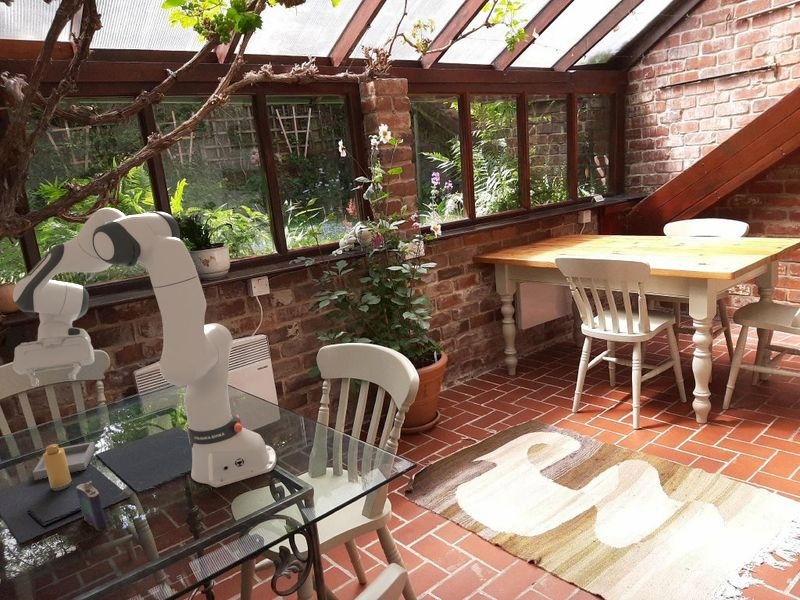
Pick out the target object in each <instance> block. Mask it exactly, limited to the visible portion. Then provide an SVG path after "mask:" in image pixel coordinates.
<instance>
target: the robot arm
mask: <svg viewBox="0 0 800 600" xmlns="http://www.w3.org/2000/svg"><path fill="white" fill-rule="evenodd" d="M137 263H139V264H141V265H143V266H144V268H146V270H147V273H148V274H149V279H150V283H151V285H152V289H153V292H154V295H155V298H156V302H157V305H158V309H159V311H160V316H161V323H162V331H163V332H162V333H163V335H162V336H163V342H162V343H163V347H162V353H161V357H160V359H159V372H160V374H161V376H162V377H163V379H164V380H165V381H166V382H167V383H169V384H170V385H173V386H175V387H184V386H185V387H186V390H185V393H184V397H183V404H184V408H185V413H186V414H185V415H186V419H187V438H188V442H189V445H190V447H191V456H192V457H191V458H192V461H191V463H192V466H191V473H190V476H191V479H192V480H193V481H195V482H197V483H200V484H206V485H209V486H211V487H214V488H219V487H223V486H225V485H230V484H232V483H236V482H239V481H242V480H243V481H244V480H246V479H250V478H253V477H256V476H259V475H262V474H265V473H270V472H271V471H273V469H274V468H275V466H276V465H277V454H276V451H275V450H274V448H273V447H271V446H270V445H267V444H266V443H265V440H264V439H263V437H262V436H261V434H259V433H257V432H255V431H252V430H249V429H248V428H245V427H243V424H242V422H241V418H240V416H239V414H237V415H236V416H235V415H233V414H232V411H231V405H230V404H231V403H230V397H229V389H228V388H229V387H228V386H229V383H228V382H229V368H230V367H229V365H230V354H231V351H232V347H233V344H234V339H233V336H232V333H231V331H230V330H229V329H228V328H227V327H226V326H224V325H223V324H220V323H217V322H213V323H208V324H205V317H206V310H207V300H206V298H205V297H206V296H205V294H204V290H203V286H202V283H201V280H200V278H199V274H198V270H197V269H196V265H195V263H194V260H193V258H192V256H191V253H190V252H189V250H188V248H187V245H185V242H184V241H183V240H182V239H181V232H180V227H179V225H178V223H177V221H176V219H175V218H174V216H172V215H171V214H169V213H166V212H163V211H151V212H147V213H141V214H132V215H125V214H124V213H123V212H121V211H120V210H119V209H116V208H111V207H104V208H100V209H98V210H96V211H95V212H94V213H93V214H92V215H90V217H89V218H88V219H87V220H86V221H85V222H84V224H83V225H82V227H81V228H80V230H79V232H78V234H76V235H75V236H74V237H73V238H71V239H69V240H67V241H64V242H61V243H58V244H55V245H53V246H52V247H51V248H50V249H49V250H48V251H47V252H46V253H45V254H44V256H42V258H40V260H39V261H38V262H37V263H36V264H35V265H34V267H33V268H32V269H31V270H30V271H29V272H28V273H27V274H25V275H24V276H22V277H21V278H20V279H19V280H18V281H17V283H16V284H15V286H14V288H13V293H12V303H14V305H15V306H16V307H17V308H18V309H19V310H20V311H22V312H25V313H26V312H27V313H38V317H39V326H38V327H37V340H35V341H29V342H21V343H20V344H19V345H18V344H17V346H16V347H15V348H14V357H13V361H12V369H13V371H14V372H15V373H16V374H17V375H19V376H20V375H27V376H28V377H29V379H30V385H31V387H32V388H33V387H38V386H39V385H40V380H39V379H38V377H35V376H36V373H41V372H48V371H54V370H56V371H57V370H62V369H69V368H73V369H72V371H71V372H68V374H67V375H68V377H67V378H68V380H69V381H70V382H72V381H76V380H77V375H78V374H79V372H80V370H81V367H82V366H88V365H89V366H90V365H92V364H93V363H94V362H95V350H94V347H93V345H92V343H91V342H92V340H91V336H90V335H89V334H88V331H86V330H85V329H84V328H80V327H73V322H74V321H77V320H79V319H80V318H82V317H83V316H85V315H86V313H87V312H88V310H89V306H90V305H89V302H90V294H89V293H88V290H87V288H86V287H84V286H83V285H81V284H77V283H71V282H67V281H59V280H54V279H53V278H54V277H55V276H56V275H59V274H64V273H89V274H90V273H100V272H103V271H106V270H107V269H109V268H110V267H112V265H115V266H127V267H131V268H133V267H134V266H136V264H137Z"/></svg>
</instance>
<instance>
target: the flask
mask: <svg viewBox="0 0 800 600" xmlns="http://www.w3.org/2000/svg"><path fill="white" fill-rule="evenodd" d="M91 483H92V480H89V481H87V482H85V483H81V484H78V485H77V486H75V490H76V494H77V497H78V502H79V506H80V510H81V513H82V516H83V515H84V519H83V520H84V521H86V522H87V523H88V525H90V526H92V528H95V529H96V530H97V531H105V529H107V528H108V522H107V519H106V515H105V511H104V507H103V504H102V499H101V495H100V492H99V490H98V489H97V488H95V487H94V486H93V485H92V484H91Z"/></svg>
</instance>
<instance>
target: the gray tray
mask: <svg viewBox="0 0 800 600" xmlns="http://www.w3.org/2000/svg"><path fill="white" fill-rule="evenodd" d="M95 443H96V442H95V441H92V442H85V443H79V444H75V445H69V446H64V447H61V448H63V449H64V452H65V456H66V460H67V464H68V468H69V472H74V471H81V470H85V469H86V468H87V469H88V467H87V466H89V465H90V463H91V461H92V458H93V456H94V454H95V453H96V450H97V449H96V444H95ZM45 452H47V451H46V450H45ZM88 464H89V465H88ZM87 469H86V470H87ZM81 472H82V471H81ZM32 477H33V480H34V481H37V480H38V479H39V480H43V479H42V478H44V479H48V478H47V477H48V475H47V471H46V467H45V463H44V459H43V456H42V457H41V458H40V459H39V461H38V463H37V464H36V466H35V467H34V469H33V471H32ZM39 480H38V481H39Z"/></svg>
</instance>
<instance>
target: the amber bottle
mask: <svg viewBox="0 0 800 600" xmlns="http://www.w3.org/2000/svg"><path fill="white" fill-rule="evenodd" d="M46 451H47V452H46ZM42 457H43V459H44V463H45V467H46V471H47V475H48V478H47V479H48V482H49V486H50V489H51V488H58V487H62V486H65V485H67V484H69V483H70V482H71V481H72V477H71V474H70V472H69V468H68V464H67V460H66V456H65V452H64V449H63V448H62V447H59V444H58V443H52V444H50V445H47V446H46V447H45V452H44V453H43V454H42ZM72 482H73V481H72Z"/></svg>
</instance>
